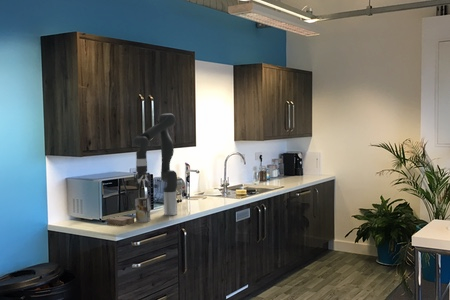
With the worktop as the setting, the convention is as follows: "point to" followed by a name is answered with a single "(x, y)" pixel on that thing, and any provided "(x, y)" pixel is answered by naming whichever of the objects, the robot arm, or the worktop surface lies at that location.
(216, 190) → the worktop surface
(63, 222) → the worktop surface
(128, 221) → the walnut base
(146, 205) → the coffee box
